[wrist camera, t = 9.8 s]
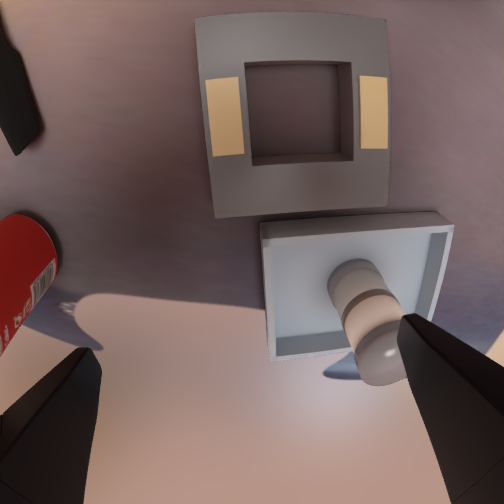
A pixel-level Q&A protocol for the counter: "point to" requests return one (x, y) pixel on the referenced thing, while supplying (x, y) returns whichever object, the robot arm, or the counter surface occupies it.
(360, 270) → the cylinder
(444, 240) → the parts tray
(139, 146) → the counter surface
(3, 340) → the beverage can
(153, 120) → the counter surface
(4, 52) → the electric trimmer
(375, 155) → the fuse block
